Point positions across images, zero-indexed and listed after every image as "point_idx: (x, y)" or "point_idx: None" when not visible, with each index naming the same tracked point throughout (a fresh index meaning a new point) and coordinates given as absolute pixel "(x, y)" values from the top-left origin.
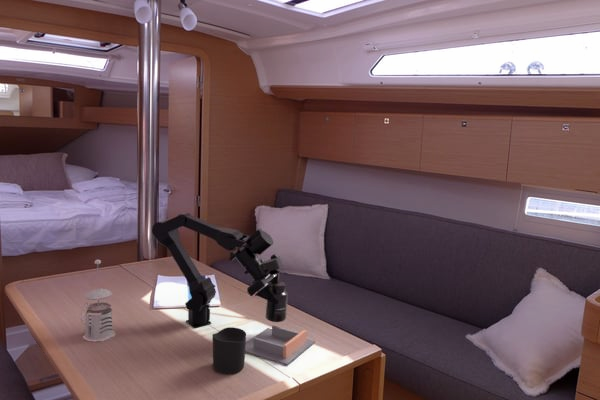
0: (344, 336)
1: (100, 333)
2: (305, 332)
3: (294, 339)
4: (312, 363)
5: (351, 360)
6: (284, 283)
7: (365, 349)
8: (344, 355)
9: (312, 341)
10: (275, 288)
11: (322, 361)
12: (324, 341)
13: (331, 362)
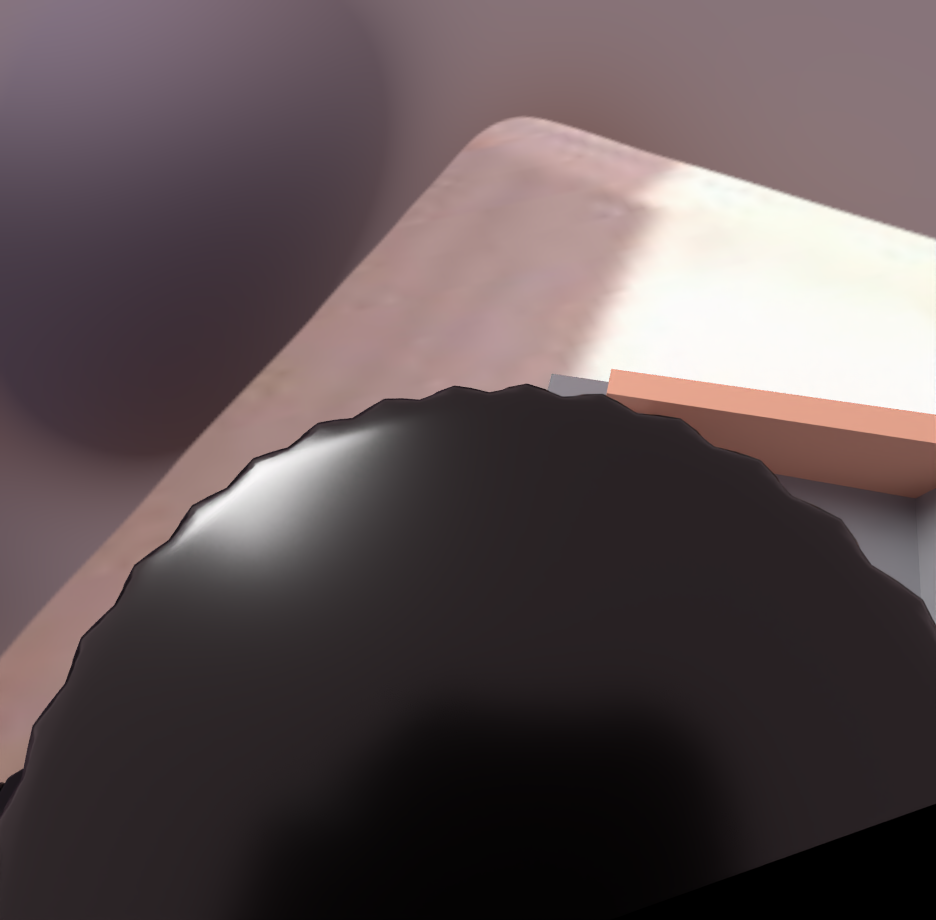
0: (397, 260)
1: None
2: (633, 378)
3: (865, 407)
4: (861, 320)
5: (689, 168)
6: (282, 473)
7: (526, 148)
8: (647, 206)
9: (569, 387)
10: (926, 872)
11: (794, 279)
12: (507, 337)
13: (775, 238)
